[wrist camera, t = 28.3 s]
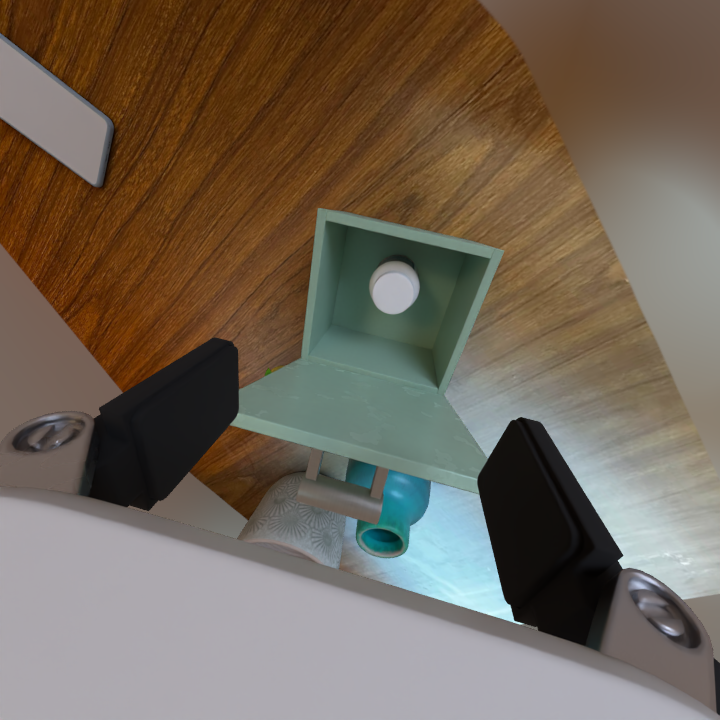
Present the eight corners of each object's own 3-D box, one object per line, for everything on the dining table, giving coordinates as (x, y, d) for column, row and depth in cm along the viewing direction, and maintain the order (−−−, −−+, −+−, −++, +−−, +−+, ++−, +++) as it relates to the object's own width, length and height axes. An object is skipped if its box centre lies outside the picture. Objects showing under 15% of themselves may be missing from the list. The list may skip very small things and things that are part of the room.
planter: (371, 490, 53) (358, 582, 39) (326, 529, 60) (301, 617, 47) (296, 442, 51) (254, 523, 37) (258, 489, 58) (212, 569, 45)
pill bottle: (368, 266, 34) (355, 280, 27) (407, 246, 33) (406, 254, 25) (386, 305, 36) (379, 328, 28) (425, 287, 34) (429, 307, 27)
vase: (391, 381, 42) (378, 491, 25) (441, 424, 44) (459, 552, 27) (347, 420, 46) (310, 534, 29) (393, 457, 48) (384, 584, 31)
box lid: (207, 405, 15) (194, 498, 16) (508, 487, 14) (472, 580, 15) (299, 358, 30) (289, 407, 31) (445, 396, 29) (429, 445, 30)
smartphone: (97, 190, 36) (-24, 102, 33) (104, 190, 36) (-13, 104, 34) (110, 121, 32) (-24, 16, 29) (118, 123, 33) (-12, 21, 30)
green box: (344, 211, 33) (317, 207, 23) (476, 241, 32) (504, 250, 23) (327, 326, 40) (300, 359, 30) (435, 353, 39) (443, 397, 29)
